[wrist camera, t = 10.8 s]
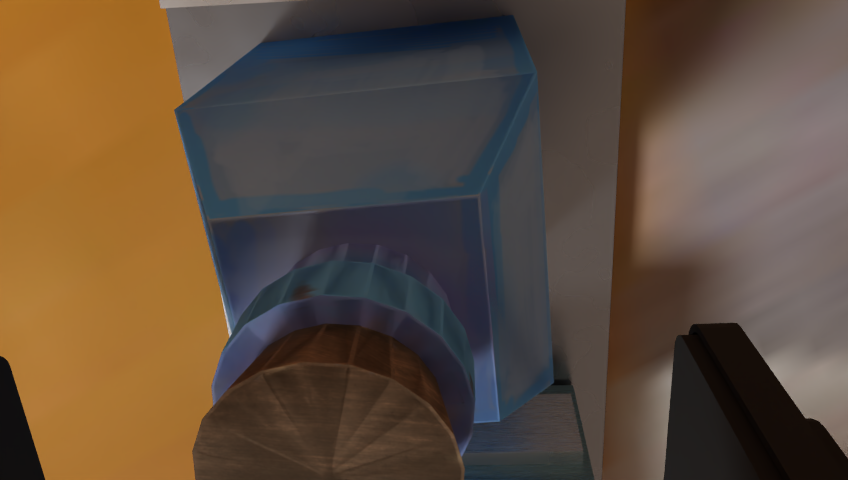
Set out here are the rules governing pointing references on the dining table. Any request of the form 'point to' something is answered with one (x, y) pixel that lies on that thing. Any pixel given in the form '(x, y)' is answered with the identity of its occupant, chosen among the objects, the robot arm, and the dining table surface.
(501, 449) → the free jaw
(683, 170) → the dining table surface
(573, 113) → the vise bed
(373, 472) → the perfume bottle
